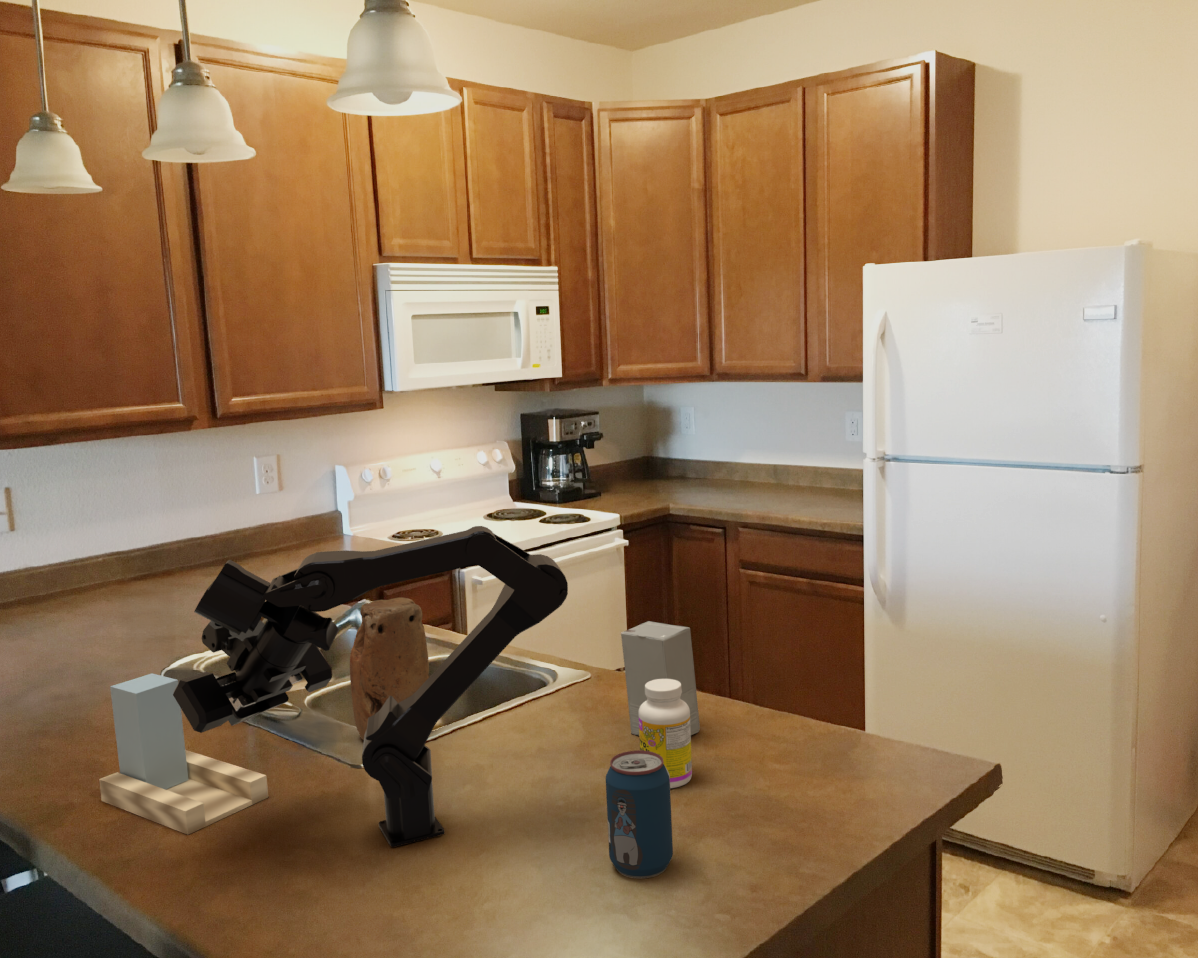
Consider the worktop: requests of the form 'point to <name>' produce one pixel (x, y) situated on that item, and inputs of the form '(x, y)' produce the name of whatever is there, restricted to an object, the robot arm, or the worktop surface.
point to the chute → (188, 794)
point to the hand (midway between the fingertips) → (232, 721)
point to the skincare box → (658, 665)
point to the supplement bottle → (667, 728)
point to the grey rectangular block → (149, 731)
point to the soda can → (639, 814)
